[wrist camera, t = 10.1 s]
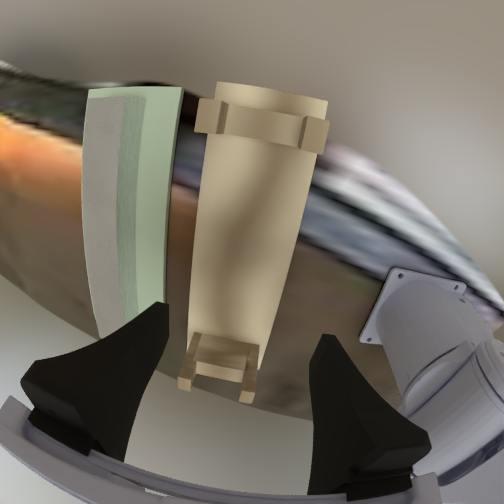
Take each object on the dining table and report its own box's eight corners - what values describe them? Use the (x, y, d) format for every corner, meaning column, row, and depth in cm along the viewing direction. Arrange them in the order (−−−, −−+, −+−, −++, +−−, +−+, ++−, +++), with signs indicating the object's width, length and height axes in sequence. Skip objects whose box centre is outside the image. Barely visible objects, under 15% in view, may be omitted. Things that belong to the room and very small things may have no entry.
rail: (111, 100, 16) (88, 98, 13) (146, 99, 16) (125, 96, 13) (113, 318, 24) (99, 337, 22) (139, 326, 24) (127, 347, 22)
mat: (184, 88, 16) (181, 87, 15) (165, 336, 25) (164, 340, 25) (93, 89, 16) (89, 89, 15) (98, 316, 25) (95, 319, 25)
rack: (324, 103, 16) (349, 90, 10) (259, 360, 26) (255, 414, 20) (220, 84, 16) (193, 63, 10) (189, 346, 26) (171, 397, 20)
